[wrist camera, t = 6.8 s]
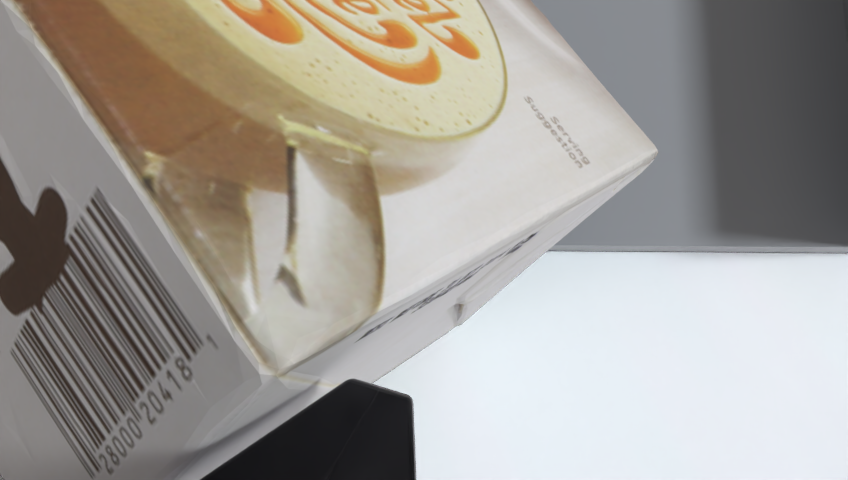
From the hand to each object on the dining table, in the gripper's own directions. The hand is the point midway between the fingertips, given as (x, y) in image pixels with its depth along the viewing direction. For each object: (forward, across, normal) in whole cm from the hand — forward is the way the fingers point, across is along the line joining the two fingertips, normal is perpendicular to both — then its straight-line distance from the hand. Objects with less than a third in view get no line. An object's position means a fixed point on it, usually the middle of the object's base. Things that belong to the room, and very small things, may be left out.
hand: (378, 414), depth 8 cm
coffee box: (+3, 0, +1) cm, 3 cm away
